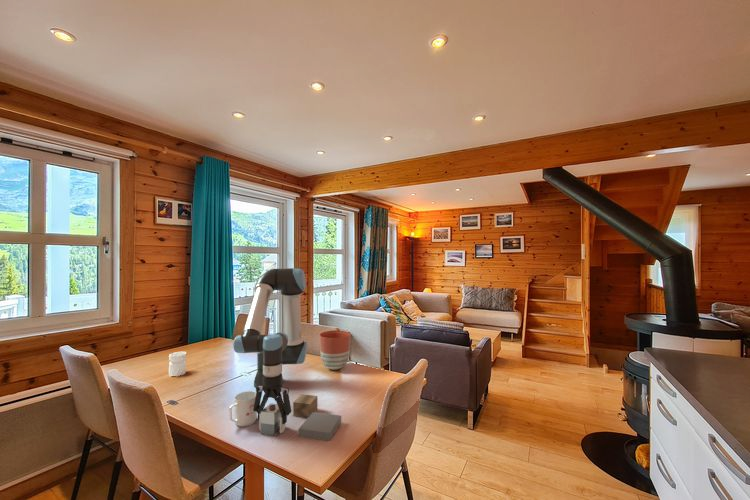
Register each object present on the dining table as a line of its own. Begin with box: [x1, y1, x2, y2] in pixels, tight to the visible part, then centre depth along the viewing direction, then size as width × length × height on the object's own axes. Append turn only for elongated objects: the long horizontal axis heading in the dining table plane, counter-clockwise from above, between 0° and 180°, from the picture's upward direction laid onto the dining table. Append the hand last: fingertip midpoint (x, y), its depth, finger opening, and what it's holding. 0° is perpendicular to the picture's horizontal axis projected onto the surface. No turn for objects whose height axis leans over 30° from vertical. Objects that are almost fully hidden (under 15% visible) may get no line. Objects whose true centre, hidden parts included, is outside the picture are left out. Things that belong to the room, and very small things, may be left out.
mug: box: [228, 390, 258, 428], centre depth 129 cm, size 12×9×11 cm
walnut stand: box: [292, 393, 318, 419], centre depth 138 cm, size 8×8×6 cm
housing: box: [260, 402, 281, 437], centre depth 124 cm, size 6×7×10 cm
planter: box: [319, 329, 351, 371], centre depth 192 cm, size 20×20×21 cm
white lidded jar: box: [168, 351, 187, 377], centre depth 183 cm, size 9×9×12 cm
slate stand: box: [298, 411, 342, 441], centre depth 125 cm, size 13×13×3 cm
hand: (272, 429), depth 124 cm, fingers open, 8 cm apart
